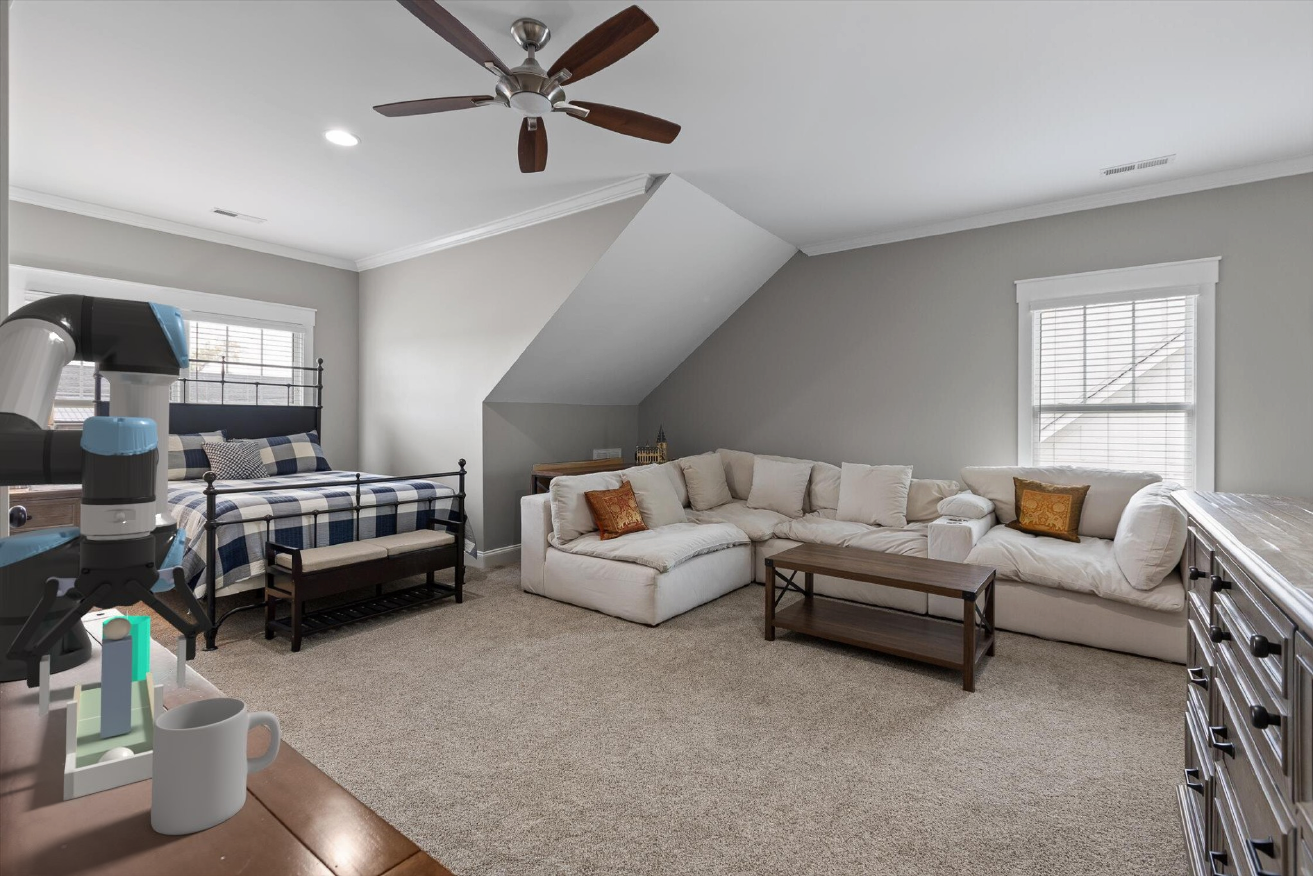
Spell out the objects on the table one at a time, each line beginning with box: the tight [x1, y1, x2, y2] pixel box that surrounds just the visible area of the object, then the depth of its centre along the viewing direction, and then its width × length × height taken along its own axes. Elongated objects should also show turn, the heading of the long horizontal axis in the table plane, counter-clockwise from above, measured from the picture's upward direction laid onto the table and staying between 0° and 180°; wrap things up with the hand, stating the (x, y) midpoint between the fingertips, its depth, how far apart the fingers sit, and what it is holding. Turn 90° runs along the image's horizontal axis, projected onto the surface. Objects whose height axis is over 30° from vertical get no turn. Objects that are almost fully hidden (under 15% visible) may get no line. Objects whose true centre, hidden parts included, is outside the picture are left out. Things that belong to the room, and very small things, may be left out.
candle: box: [101, 609, 151, 682], centre depth 104 cm, size 6×6×12 cm
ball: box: [98, 747, 134, 763], centre depth 77 cm, size 4×4×4 cm
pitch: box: [72, 671, 155, 769], centre depth 89 cm, size 25×9×3 cm, turn 41°
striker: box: [100, 618, 132, 739], centre depth 83 cm, size 3×3×15 cm
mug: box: [150, 697, 281, 836], centre depth 72 cm, size 12×8×11 cm
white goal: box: [63, 683, 164, 802], centre depth 77 cm, size 6×9×9 cm
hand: (116, 697), depth 83 cm, fingers open, 13 cm apart
